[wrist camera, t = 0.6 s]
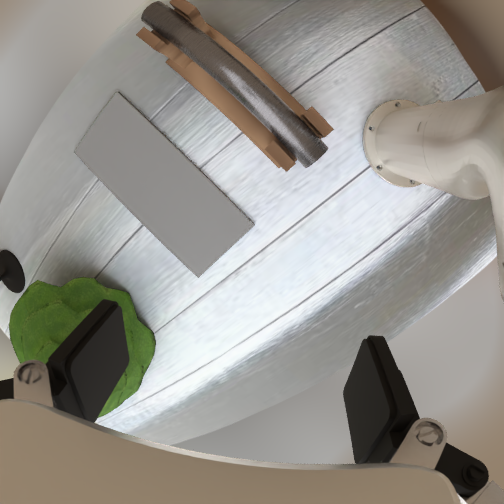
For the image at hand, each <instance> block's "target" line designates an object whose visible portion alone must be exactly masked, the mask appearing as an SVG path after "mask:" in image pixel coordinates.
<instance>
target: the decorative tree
mask: <svg viewBox="0 0 504 504" xmlns="http://www.w3.org/2000/svg"><path fill="white" fill-rule="evenodd" d="M103 299H107V300H112V301H116V302H117V303H118V305H119V306H121V308H122V313H123V320H124V327H125V333H126V340H127V346H128V351H129V357H130V360H129V365H128V367H127V368H126V370H125V372H124V373H123V375H122V377H121V378H120V380H119V382H118V383H117V385H116V387H115V388H114V390H113V392H112V394H111V395H110V397H109V399H108V400H107V402H106V404H105V406H104V407H103V409H102V411H101V413H100V414H99V416H98V417H101V416H104V415H106V414H107V413H109V412H111V411H112V410H114V409H115V408H117V407H118V406H120V405H121V404H122V403H123V402H124V400H126V399H128V398H129V397H130V396H132V395H133V394H134V393H135V392H137V391H138V389H139V387H140V385H141V383H142V379H143V376H144V374H145V372H146V370H147V368H148V367H149V365H150V362H151V360H152V358H153V356H154V352H155V345H156V341H155V337H154V333H153V332H152V331H151V330H149V329H148V328H147V327H146V326H145V325H143V324H142V323H141V322H140V321H139V320H138V319H137V316H136V312H135V309H134V306H133V303H132V301H131V298H130V295H129V293H127V292H124V291H121V290H117V289H110V288H105V287H104V286H103V285H102V284H101V283H99V282H98V281H97V280H96V279H95V278H87V277H80V278H76V279H73V280H71V281H69V282H68V283H66V284H65V285H63V286H62V287H58V286H54V285H51V284H47V283H45V282H42V281H39V280H37V281H36V282H34V283H33V284H31V285H30V286H29V287H28V288H27V289H26V291H25V292H24V293H23V295H22V296H21V298H20V299H19V300H18V302H17V303H16V304H15V306H14V308H13V310H12V312H11V316H10V323H9V330H10V339H11V342H12V345H13V348H14V350H15V353H16V355H17V357H18V359H19V361H20V364H21V363H23V362H25V361H28V360H39V361H41V362H43V363H44V364H46V363H47V362H48V358H49V357H50V356H51V354H52V353H53V352H54V351H55V350H56V349H57V348H58V347H59V345H60V344H61V343H62V342H63V341H64V340H65V339H66V338H67V337H68V336H69V334H70V333H71V332H72V331H73V330H74V329H75V328H76V327H77V326H78V325H79V324H80V323H81V322H82V320H83V319H84V318H85V317H86V316H87V315H88V314H89V313H90V312H91V311H92V310H93V309H94V308H95V307H96V306H97V305H98V304H99V303H100V302H101V301H102V300H103Z"/></svg>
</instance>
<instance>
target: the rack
mask: <svg viewBox="0 0 504 504" xmlns="http://www.w3.org/2000/svg"><path fill="white" fill-rule="evenodd" d="M170 4H171V5H172V6H173V7H174V8H175V9H174V11H176V12H177V13H178V14H180V15H181V16H183V17H184V18H185V19H187V20H188V21H190V22H191V23H192V24H194V25H195V26H196V27H198V28H199V29H200V30H202V31H203V32H204V33H206V34H207V35H208V36H209V37H211V38H212V39H213V40H215V41H216V42H217V43H218V44H219V45H221V46H222V47H223V48H224V49H226V50H227V51H228V52H229V53H230V54H232V55H233V56H234V57H235V58H236V59H238V60H239V61H240V62H241V63H242V64H243V65H245V66H246V67H247V68H248V69H249V70H250V71H251V72H253V73H254V74H255V75H256V76H257V77H258V78H259V79H260V80H261V81H262V82H264V83H265V84H266V85H267V86H268V87H269V88H270V89H271V90H272V91H273V92H274V93H275V94H276V95H277V96H278V97H279V98H281V99H282V100H283V101H284V102H285V103H286V104H287V105H288V106H289V107H290V108H291V109H292V110H293V111H294V112H295V113H296V114H297V115H298V116H299V117H300V118H301V119H302V120H303V121H304V122H305V124H306V125H307V126H308V127H309V128H310V129H311V130H312V131H313V132H314V133H315V134H316V135H317V136H318V137H319V138H320V139H321V138H323V137H326V136H327V135H328V134H329V133H330V132H331V131H332V130H334V129H333V128H332V127H331V126H330V125H329V124H328V123H327V121H326V120H325V119H324V118H323V117H322V116H321V115H320V114H319V113H318V112H317V111H316V110H315V109H314V108H313V107H312V106H311V107H310V108H309V109H308V110H307V111H306V110H305V109H304V108H303V107H302V106H301V105H300V104H299V103H298V102H297V101H296V100H295V99H294V98H293V97H292V96H291V95H290V94H289V93H288V92H287V91H286V90H285V89H284V88H283V87H282V86H281V85H280V84H279V83H278V82H277V81H276V80H275V79H273V78H272V77H271V76H270V75H269V74H268V73H267V72H266V71H265V70H264V69H262V68H261V67H260V66H259V65H258V64H257V63H256V62H255V61H253V60H252V59H251V58H250V57H249V56H248V55H246V54H245V53H244V52H243V51H242V50H240V49H239V48H238V47H237V46H236V45H234V44H233V43H232V42H231V41H229V40H228V39H227V38H226V37H224V36H223V35H222V34H221V33H219V32H218V31H217V30H215V29H214V28H213V27H211V26H210V25H209V24H207V23H205V21H204V20H203V18H202V17H201V15H200V12H199V11H198V9H197V8H196V7H195V6H193V5H192V4H190V3H189V2H188V1H186V0H171V1H170ZM136 35H137V36H138V37H139V38H141V39H142V40H143V41H144V42H146V43H147V44H148V45H149V46H151V47H152V48H153V49H155V50H156V51H158V52H159V53H160V52H161V53H162V54H164V55H165V56H167V57H168V58H169V59H168V60H167V61H166V63H167V64H168V65H169V66H170V67H172V68H173V69H174V70H175V71H176V72H178V73H179V74H180V75H181V76H182V77H183V78H184V79H186V80H187V81H188V82H189V83H190V84H191V85H192V86H194V87H195V88H196V89H197V90H198V91H199V92H200V93H201V94H203V95H204V96H205V97H206V98H207V99H208V100H209V101H210V102H211V103H212V104H213V105H215V106H216V107H217V108H218V109H219V110H220V111H221V112H222V113H223V114H224V115H225V116H226V117H227V118H228V119H230V120H231V121H232V122H233V123H234V124H235V125H236V126H237V127H238V128H239V129H240V130H241V131H242V132H243V133H244V134H245V135H246V136H247V137H248V138H249V139H250V140H251V141H252V142H253V143H254V144H255V145H256V146H257V147H258V148H259V149H260V150H261V151H262V152H263V153H264V154H265V155H266V156H267V157H268V158H269V159H270V160H271V161H272V162H273V163H274V164H275V165H276V166H277V167H278V168H280V167H282V168H283V169H284V170H285V171H286V172H287V171H288V170H289V169H290V168H291V167H292V166H294V165H295V164H296V163H295V161H296V160H297V158H296V157H295V156H294V155H293V154H292V153H291V152H290V151H289V150H288V149H287V148H286V147H285V146H284V145H283V144H282V143H281V142H280V141H279V140H278V139H277V138H276V137H275V136H274V135H273V134H272V133H271V132H270V131H269V130H268V129H267V128H266V127H265V126H264V125H263V124H262V123H261V122H260V121H259V120H258V119H257V118H256V117H255V116H254V115H253V114H252V113H251V112H250V111H249V110H248V109H247V108H246V107H244V106H243V105H242V104H241V103H240V102H239V101H238V100H237V99H236V98H235V97H234V96H233V95H232V94H230V93H229V92H228V91H227V90H226V89H225V88H224V87H223V86H222V85H220V84H219V83H218V82H217V81H216V80H215V79H214V78H213V77H211V76H210V75H209V74H208V73H207V72H206V71H204V70H203V69H202V68H201V67H200V66H199V65H197V64H196V63H195V62H194V61H193V60H191V59H190V58H189V57H188V56H187V55H185V54H184V53H183V52H182V51H180V50H179V49H178V48H177V47H175V46H174V45H173V44H172V43H170V42H169V41H168V40H167V39H165V38H164V37H163V36H161V35H160V34H159V33H158V32H156V31H155V30H154V29H153V30H152V31H151V32H150V31H149V30H147V29H146V28H145V27H143V28H142V29H141V30H140V31H139V32H138V33H137V34H136Z"/></svg>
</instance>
